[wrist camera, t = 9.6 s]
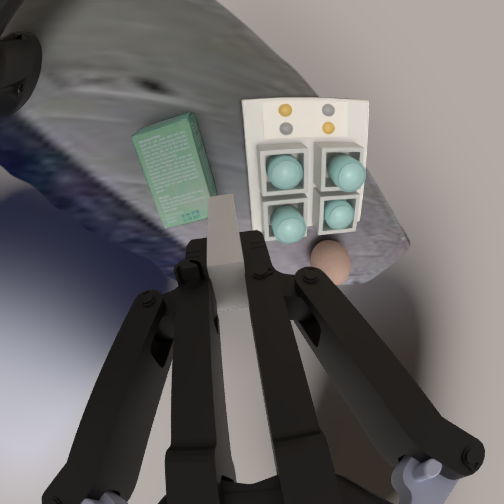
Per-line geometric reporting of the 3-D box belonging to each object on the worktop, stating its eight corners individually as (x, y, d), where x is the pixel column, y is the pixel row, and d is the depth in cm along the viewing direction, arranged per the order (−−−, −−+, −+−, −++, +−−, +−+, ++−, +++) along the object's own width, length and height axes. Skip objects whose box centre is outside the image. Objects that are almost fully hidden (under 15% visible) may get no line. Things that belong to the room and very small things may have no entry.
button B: (269, 206, 37) (273, 217, 34) (301, 203, 37) (307, 214, 34) (270, 234, 39) (274, 246, 37) (300, 230, 39) (306, 242, 37)
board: (241, 99, 32) (244, 101, 28) (362, 99, 33) (381, 103, 29) (251, 225, 44) (255, 244, 40) (354, 215, 45) (368, 231, 40)
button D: (320, 195, 39) (327, 204, 36) (347, 193, 39) (356, 202, 36) (319, 221, 41) (325, 231, 39) (344, 218, 42) (352, 228, 39)
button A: (264, 152, 34) (268, 158, 32) (296, 150, 35) (303, 156, 32) (266, 182, 37) (269, 191, 34) (297, 180, 37) (303, 188, 35)
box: (194, 109, 33) (187, 115, 27) (218, 194, 41) (217, 217, 34) (144, 125, 33) (128, 136, 27) (173, 206, 41) (165, 231, 35)
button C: (327, 153, 33) (336, 160, 30) (357, 153, 33) (368, 160, 30) (326, 184, 35) (334, 193, 33) (354, 183, 36) (364, 191, 33)
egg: (307, 231, 46) (324, 264, 38) (342, 231, 47) (363, 262, 39) (302, 262, 50) (316, 297, 42) (335, 261, 50) (353, 294, 43)
